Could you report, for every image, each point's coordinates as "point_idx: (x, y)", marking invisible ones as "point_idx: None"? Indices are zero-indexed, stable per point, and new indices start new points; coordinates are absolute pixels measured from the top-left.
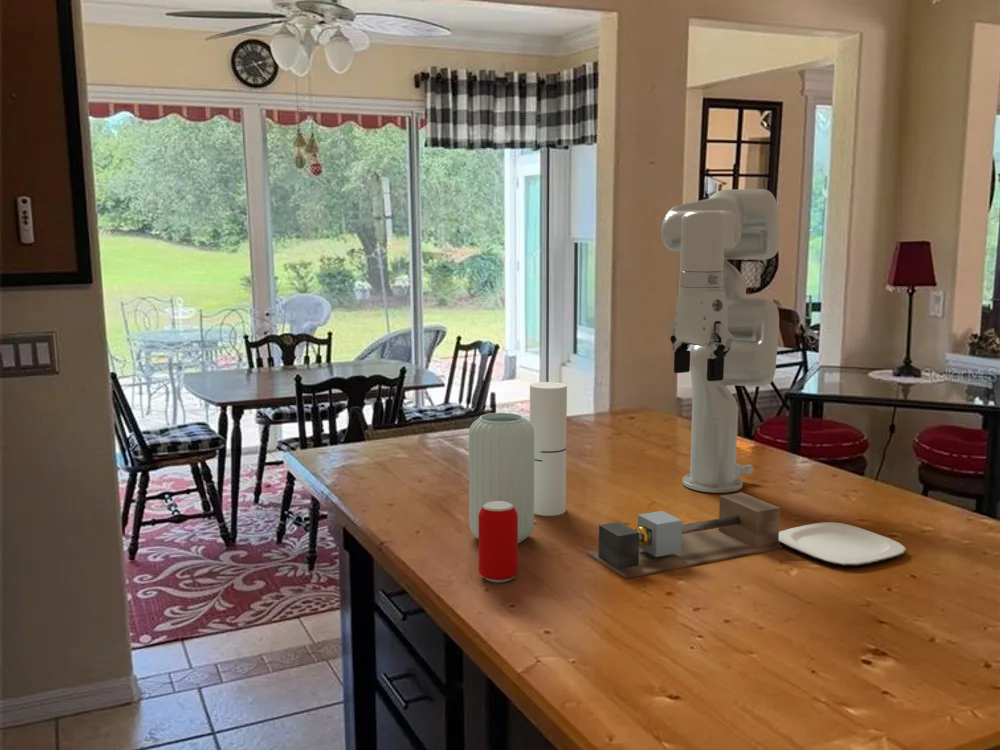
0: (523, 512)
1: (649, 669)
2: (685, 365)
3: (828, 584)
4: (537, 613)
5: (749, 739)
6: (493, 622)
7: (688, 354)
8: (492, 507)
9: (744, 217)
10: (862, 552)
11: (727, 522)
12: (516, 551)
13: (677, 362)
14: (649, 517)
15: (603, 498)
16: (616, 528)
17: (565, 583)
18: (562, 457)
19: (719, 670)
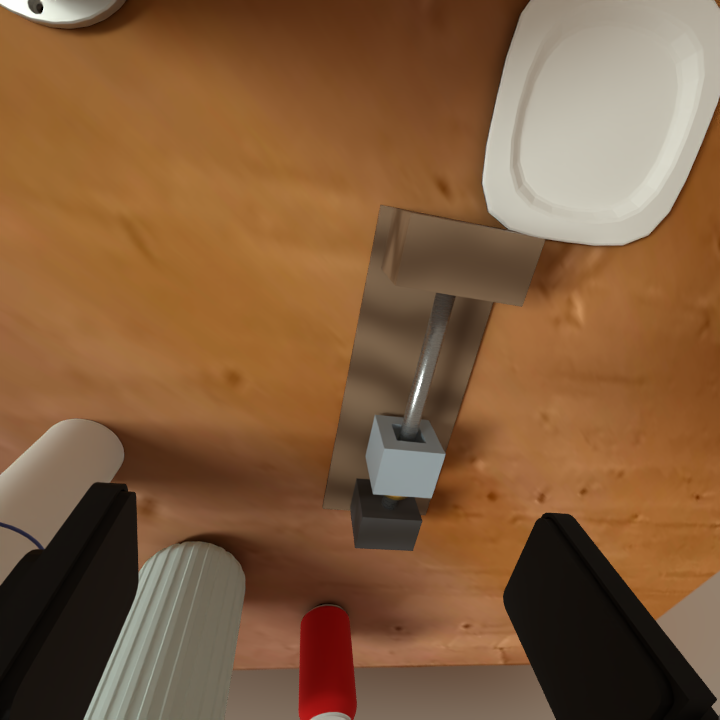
0: (237, 608)
1: None
2: (111, 576)
3: (640, 306)
4: (430, 618)
5: (688, 593)
6: (418, 651)
7: (40, 682)
8: None
9: None
10: (648, 120)
11: (448, 322)
12: (347, 642)
13: (96, 678)
14: (397, 487)
15: (47, 309)
16: (384, 536)
17: (387, 569)
18: (52, 531)
19: (627, 555)
